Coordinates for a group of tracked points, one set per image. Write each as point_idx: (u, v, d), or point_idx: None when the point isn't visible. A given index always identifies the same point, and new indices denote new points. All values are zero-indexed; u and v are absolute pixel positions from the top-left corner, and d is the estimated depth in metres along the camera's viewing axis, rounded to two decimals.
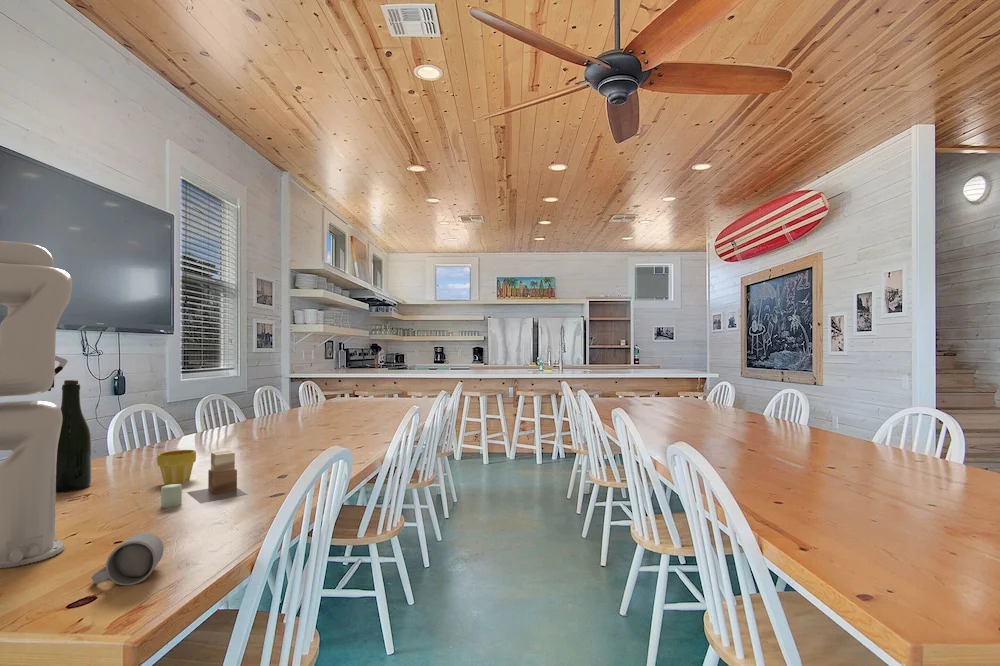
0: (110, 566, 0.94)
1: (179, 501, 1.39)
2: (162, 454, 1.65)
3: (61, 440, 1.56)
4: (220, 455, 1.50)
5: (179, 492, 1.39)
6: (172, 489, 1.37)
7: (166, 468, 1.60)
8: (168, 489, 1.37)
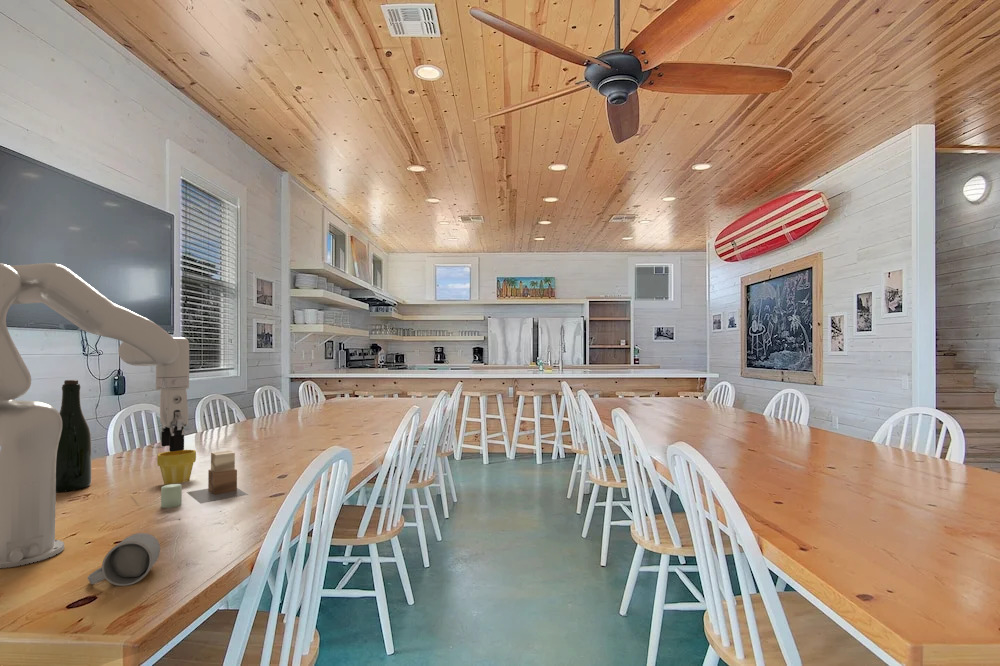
0: (107, 567, 0.94)
1: (179, 501, 1.39)
2: (162, 454, 1.65)
3: (61, 440, 1.56)
4: (220, 455, 1.50)
5: (179, 492, 1.39)
6: (172, 489, 1.37)
7: (166, 468, 1.60)
8: (168, 489, 1.37)
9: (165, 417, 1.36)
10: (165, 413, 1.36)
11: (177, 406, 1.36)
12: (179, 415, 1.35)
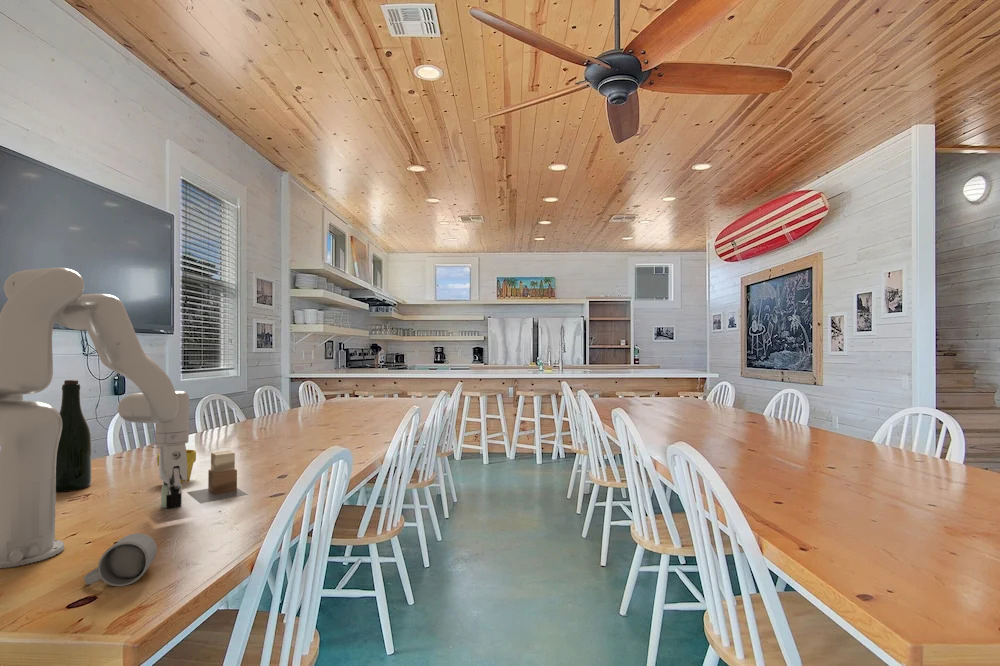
0: (103, 567, 0.94)
1: None
2: None
3: (61, 440, 1.56)
4: (220, 455, 1.50)
5: None
6: None
7: None
8: None
9: (164, 473, 1.35)
10: (164, 469, 1.35)
11: (176, 462, 1.35)
12: (177, 476, 1.35)
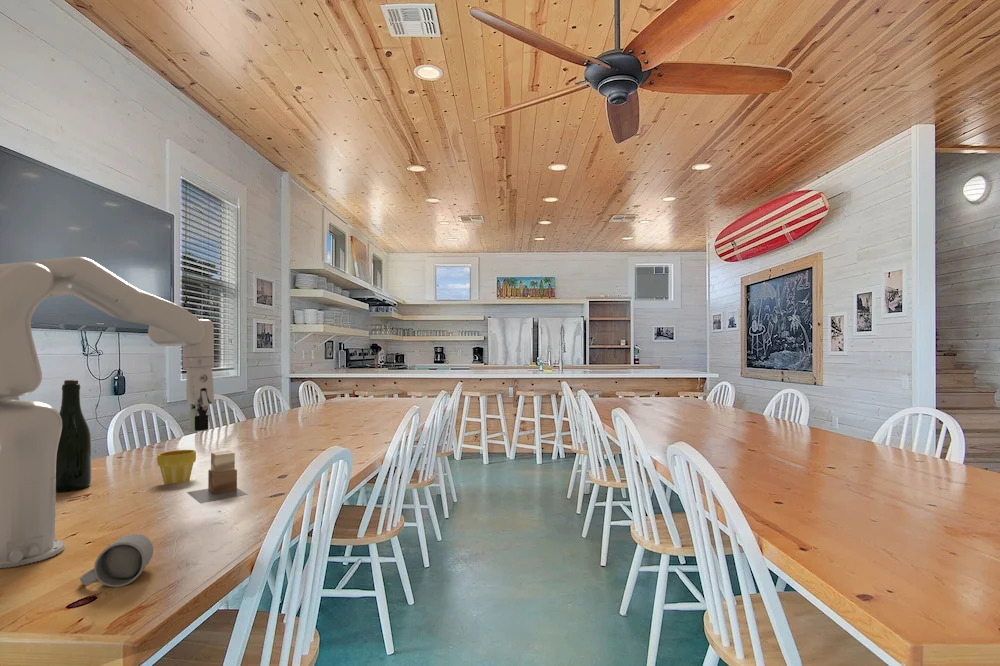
0: (99, 568, 0.94)
1: None
2: (162, 454, 1.65)
3: (61, 440, 1.56)
4: (220, 455, 1.50)
5: None
6: None
7: (166, 468, 1.60)
8: None
9: (192, 395, 1.43)
10: (192, 391, 1.43)
11: (203, 384, 1.43)
12: (205, 397, 1.42)
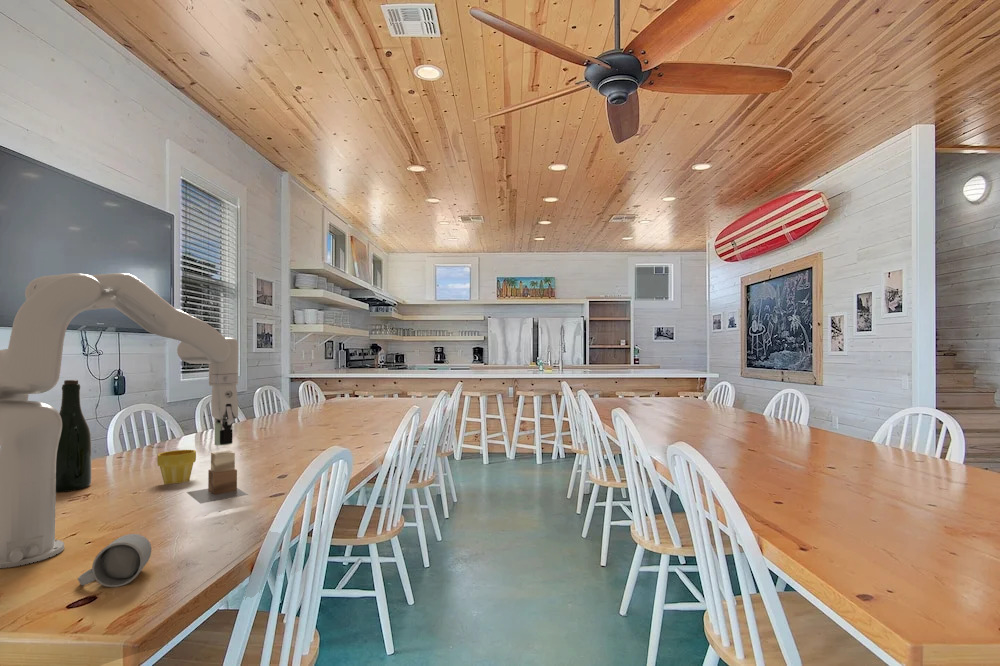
0: (97, 568, 0.94)
1: None
2: (162, 454, 1.65)
3: (61, 440, 1.56)
4: (220, 455, 1.50)
5: None
6: None
7: (166, 468, 1.60)
8: None
9: (218, 410, 1.50)
10: (218, 406, 1.49)
11: (228, 400, 1.50)
12: (230, 413, 1.49)
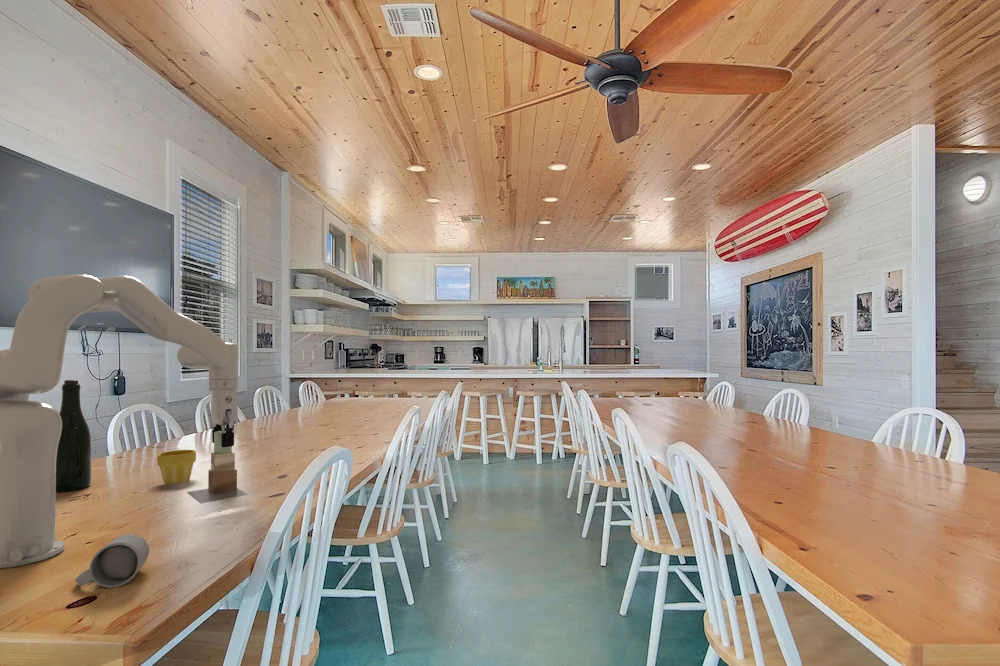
0: (94, 568, 0.94)
1: None
2: (162, 454, 1.65)
3: (61, 440, 1.56)
4: (220, 455, 1.50)
5: None
6: None
7: (166, 468, 1.60)
8: None
9: (217, 415, 1.49)
10: (218, 412, 1.49)
11: (228, 405, 1.50)
12: (230, 414, 1.49)
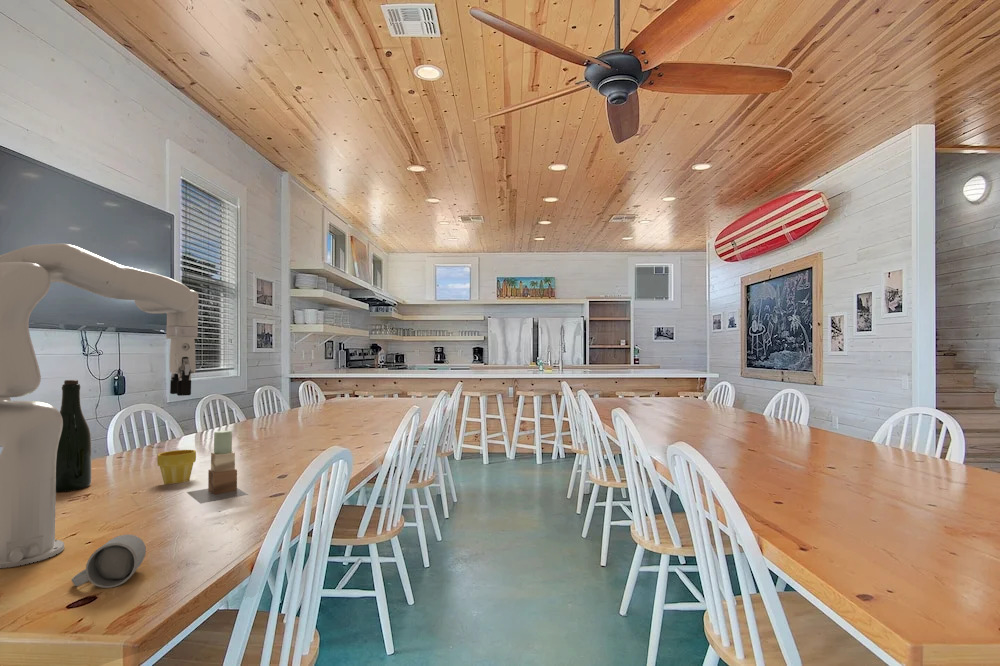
0: (91, 569, 0.94)
1: (230, 445, 1.53)
2: (162, 454, 1.65)
3: (61, 440, 1.56)
4: (220, 455, 1.50)
5: (230, 437, 1.53)
6: (224, 434, 1.51)
7: (166, 468, 1.60)
8: (221, 434, 1.51)
9: (174, 363, 1.43)
10: (174, 359, 1.43)
11: (185, 353, 1.44)
12: (187, 361, 1.42)
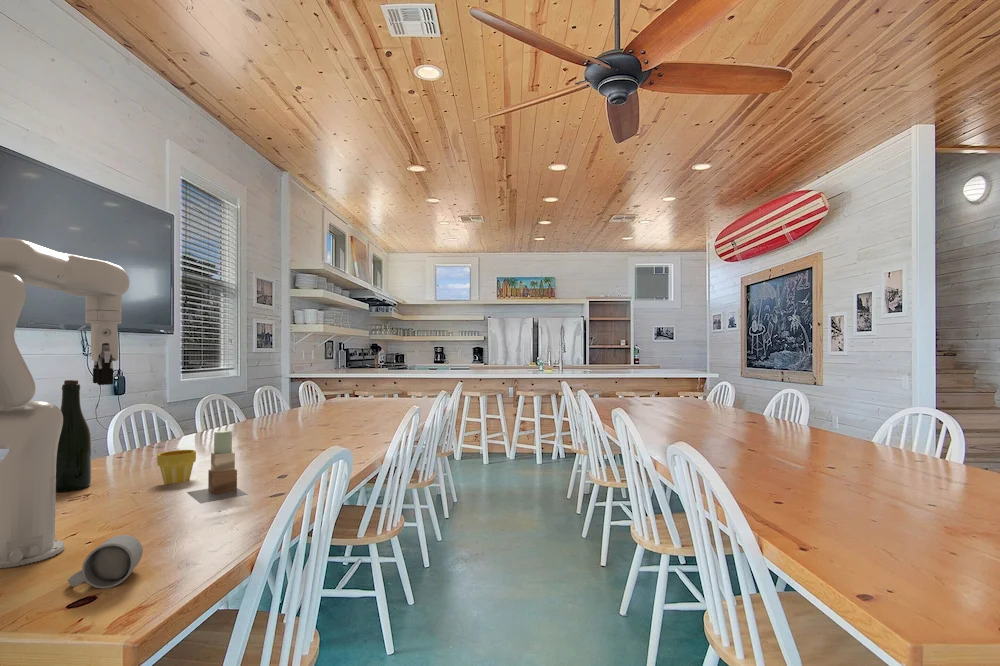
0: (87, 569, 0.93)
1: (230, 445, 1.53)
2: (162, 454, 1.65)
3: (61, 440, 1.56)
4: (220, 455, 1.50)
5: (230, 437, 1.53)
6: (224, 434, 1.51)
7: (166, 468, 1.60)
8: (221, 434, 1.51)
9: (93, 350, 1.33)
10: (93, 346, 1.33)
11: (106, 339, 1.33)
12: (107, 348, 1.32)
